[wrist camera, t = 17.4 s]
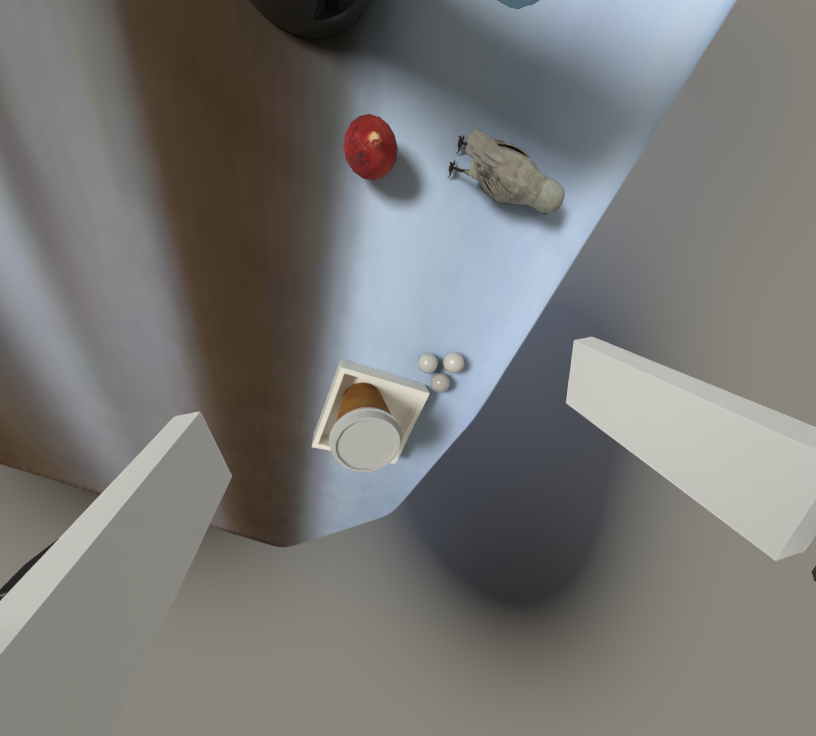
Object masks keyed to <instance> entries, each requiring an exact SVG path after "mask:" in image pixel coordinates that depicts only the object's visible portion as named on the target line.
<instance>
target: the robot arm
mask: <svg viewBox="0 0 816 736" xmlns="http://www.w3.org/2000/svg"><path fill="white" fill-rule="evenodd" d="M250 1H251V2H252V3H253V4H254V6H255V7H256V8H257V9H258V10H259V11H260V12H261V13H262V14H263V15H264V16H265V17H267V18H268V19H269V20H270V21H271V22H273V23H274V24H276V25H277V26H278V27H280V28H282V29H284V30H285V31H287V32H289V33H292V34H294V35H297V36H300V37H304V38H311V39H322V38H328V37H332V36H335V35H337V34H340V33H341V32H343V31H345V30H346V29H348V28H349V27H350V26H351V25H353V24H354V23H355V21H356V20H357V19H358V18H359V17H360V16H361V14H362V13H363V11H364V10H365V8H366V6H367V4H368V2H369V0H250ZM497 1H499V2H501V3H503V4H504V5H506V6H508V7H510V8H515V9H520V8H522V7H525V6H528V5H533V4H535V3H536V2H538V1H539V0H497ZM566 403H567V404H568V405H569V406H571V407H572V408H574V409H575V410H576V411H577V412H579V413H580V414H581V415H583V416H584V417H585V418H587V419H588V420H589V421H591V422H592V423H593V424H595V425H596V426H597V427H599V428H600V429H601V430H603V431H604V432H605V433H607V434H608V435H609V436H610V437H612V438H613V439H615V440H616V441H617V442H619V443H620V444H621V445H623V446H624V447H625V448H627V449H628V450H629V451H630V452H632V453H633V454H635V455H636V456H637V457H639V458H640V459H641V460H642V461H644V462H645V463H646V464H648V465H649V466H650V467H652V468H653V469H654V470H656V471H657V472H658V473H660V474H661V475H662V476H664V477H665V478H666V479H668V480H669V481H670V482H672V483H673V484H674V485H676V486H677V487H678V488H680V489H681V490H682V491H684V492H685V493H686V494H688V495H689V496H690V497H692V498H693V499H694V500H695V501H697V502H698V503H700V504H701V505H702V506H703V507H705V508H706V509H708V510H709V511H710V512H711V513H713V514H714V515H715V516H717V517H718V518H720V519H721V520H722V521H723V522H725V523H726V524H727V525H729V526H730V527H731V528H733V529H734V530H735V531H737V532H738V533H739V534H741V535H742V536H743V537H745V538H746V539H747V540H749V541H750V542H751V543H753V544H754V545H755V546H757V547H758V548H759V549H761V550H762V551H763V552H765V553H766V554H767V555H769V556H770V557H771V558H773V559H774V560H775V561H776V560H779V559H782V558H785V557H788V556H791V555H794V554H798V553H800V552H804V551H805V550H806V549H807V547H808V546H809V544H810V543H811V541H812V540H813V539H814V537H815V536H816V427H814V426H811V425H809V424H806V423H804V422H801V421H799V420H797V419H794V418H792V417H789V416H787V415H784V414H782V413H779V412H777V411H774V410H772V409H769V408H767V407H764V406H762V405H760V404H757V403H755V402H752V401H749V400H747V399H745V398H742V397H740V396H737V395H735V394H732V393H730V392H727V391H725V390H722V389H720V388H717V387H715V386H713V385H710V384H708V383H705V382H703V381H700V380H698V379H695V378H693V377H690V376H688V375H685V374H683V373H681V372H678V371H676V370H673V369H671V368H668V367H665V366H663V365H661V364H658V363H656V362H653V361H650V360H649V359H646V358H643V357H641V356H638V355H636V354H633V353H631V352H629V351H626V350H624V349H621V348H619V347H616V346H614V345H611V344H609V343H607V342H603V341H601V340H599V339H596V338H594V337H589V338H584V339H578V340H574V346H573V353H572V361H571V369H570V376H569V384H568V391H567V399H566ZM231 478H232V475H231V473H230V471H229V469H228V467H227V465H226V463H225V461H224V459H223V457H222V455H221V453H220V451H219V448H218V446H217V444H216V442H215V440H214V438H213V436H212V434H211V432H210V430H209V428H208V426H207V424H206V422H205V420H204V418H203V416H202V414H201V412H195V413H190V414H185V415H180V416H175V417H174V418H173V419H172V420H171V421H170V422H169V423H168V424H167V425H166V426H165V427H164V428H163V429H162V430H161V431H160V432H159V433H158V434H157V436H156V437H155V438H154V439H153V440H152V441H151V442H150V443H149V444H148V445H147V446H146V447H145V448H144V449H143V450H142V451H141V452H140V454H139V455H138V456H137V457H136V458H135V459H134V460H133V461H132V462H131V463H130V464H129V465H128V466H127V467H126V468H125V469H124V470H123V471H122V473H121V474H120V475H119V476H118V477H117V478H116V479H115V480H114V481H113V482H112V483H111V484H110V485H109V486H108V487H107V488H106V489H105V491H104V492H103V493H102V494H101V495H100V496H99V497H98V498H97V499H96V500H95V501H94V502H93V503H92V504H91V506H89V508H88V509H87V510H86V511H85V512H84V513H83V514H82V515H81V516H80V517H79V518H78V519H77V520H76V521H75V522H74V523H73V524H72V525H71V527H70V528H69V529H68V530H67V531H66V532H65V533H64V534H63V535H62V536H61V537H60V538H59V539H58V540H56V541H55V542H53V543H52V544H51V545H50V546H48V547H47V548H46V549H44V550H43V551H42V552H40V554H38V555H37V556H35V557H34V558H33V559H31V560H30V561H29V562H28V563H26V564H25V565H24V566H23V567H22V568H21V569H20V570H19V571H18V572H17V573H16V574H15V575H14V576H13V577H12V578H11V579H10V580H9V581H8V582H7V583H6V584H5V585H4V586H3V587H2V588H1V589H0V736H110V735H111V733H112V731H113V729H114V727H115V725H116V723H117V720H118V718H119V716H120V714H121V712H122V710H123V708H124V706H125V703H126V701H127V699H128V697H129V695H130V693H131V690H132V689H133V686H134V684H135V682H136V680H137V678H138V676H139V674H140V671H141V669H142V667H143V665H144V663H145V661H146V658H147V656H148V654H149V652H150V650H151V648H152V646H153V644H154V642H155V640H156V637H157V635H158V633H159V631H160V629H161V627H162V625H163V622H164V620H165V618H166V616H167V614H168V612H169V609H170V607H171V605H172V603H173V601H174V599H175V597H176V595H177V593H178V590H179V588H180V586H181V584H182V582H183V580H184V578H185V576H186V573H187V571H188V569H189V567H190V565H191V563H192V560H193V559H194V556H195V554H196V552H197V550H198V548H199V546H200V543H201V541H202V539H203V537H204V535H205V533H206V531H207V529H208V527H209V524H210V522H211V520H212V518H213V516H214V514H215V512H216V510H217V507H218V505H219V503H220V501H221V499H222V497H223V495H224V492H225V490H226V488H227V486H228V484H229V482H230V480H231ZM812 574H813V578H814V581H816V566H815V568H814V569H813V570H812Z"/></svg>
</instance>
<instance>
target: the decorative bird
mask: <svg viewBox="0 0 816 736" xmlns="http://www.w3.org/2000/svg"><path fill="white" fill-rule="evenodd" d="M459 137H460V139H459V141H458V152H459V151H460V147H461V146H462V144H463V145H466V146H467V147H466V150H465V152H466V153H467V154H468V155H470V156H472V161H471V167H470V170H469V169H466V170H465V169H459V168H456V167H454V164H455V161H454V163H452V162H450V166H449V172H450V175H451V172H452V171H453V169H454V170H457V171H459V172H464V173H465V174H467V175H469V176H471V177H472V178H474V179H475V180H477V181H478V182H480V184H481V186H482V188H483V189H484V190H485V192H486V193H487V194H488V195H489V196H491V197H492V198H493V199H495V200H496V201H498V202H501V203H510V204H522V205H529V206H531V207H533V208H534V209H535V210H537V211H538V212H540V213H543V214H550V213H552V212H554V211H556V210H557V209H558V208H559V207H560V205H561V204H562V202H563V199H564V189H563V187H562V186H561V185H560V184H559V183H558V182H556V181H555V180H552V179H550V178H548V177H547V176H545V175H544V174H543V173H541V172H540V171H539V169H538V168H537V167H536V165H535V164H534V163H533V161H532V160H531V159H530V158H529V156H528V155H527V154H526V152H525V151H523V150H522V149H521V148H519V147H517V146H515V145H513V144H510V143H506V142H504V141H500V140H497V139H494V138H491V137H490V138H489V137H488V136H487V135H486V134H485V133H483V132H480V131H478V130H477V129H476V128H473V130H472V133H470V135H469V137H468V140H467V143H465V142H463V140H464V136H463V138H462V137H461V136H459ZM449 177H450V176H449ZM449 177H448V178H449Z"/></svg>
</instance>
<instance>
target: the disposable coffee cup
mask: <svg viewBox="0 0 816 736" xmlns="http://www.w3.org/2000/svg"><path fill="white" fill-rule="evenodd" d="M401 442H402V430H401V427H400V424H399V423H398V421H397V420H396V419H395V418H394V417H393V416H392V415H391V413H390V411H389V409H388V407H387V405H386V403H385V401H384V399H383V397H382V395H381V394H380V391H379V390H378V389H377V388H376V387H375V386H374V385H372V384H369V383H364V382H361V383H356V384H354V385H352V386H350V387H349V388H348V389H347V390H346V391H345V392H344V395H343V398H342V402H341V406H340V409H339V413H338V416H337V420H336V423H335V425H334V426H333V428H332V430H331V432H330V436H329V446H330V450H331V452H332V454H333V455H334V457H335V458H336V460H337V461H338V462H339V463H340V464H341V465H342V466H343V467H345V468H347V469H349V470H352V471H356V472H370V471H375V470H378V469H381V468H383V467H384V466H386V465H388V464H389V463H390V462H391V461H392V460H393V459H394V458H395V456H396V455H397V453H398V451H399V448H400V445H401Z"/></svg>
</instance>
